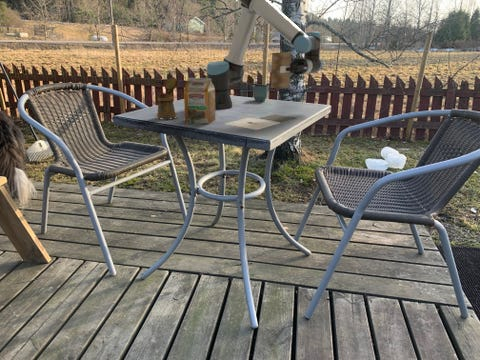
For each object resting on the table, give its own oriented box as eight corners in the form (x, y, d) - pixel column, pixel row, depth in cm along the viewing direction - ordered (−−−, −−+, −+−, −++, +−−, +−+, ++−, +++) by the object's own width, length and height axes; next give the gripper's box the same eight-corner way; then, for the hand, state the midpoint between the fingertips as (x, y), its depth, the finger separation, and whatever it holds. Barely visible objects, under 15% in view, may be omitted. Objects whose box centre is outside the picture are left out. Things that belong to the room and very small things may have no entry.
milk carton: (215, 120, 170) (214, 77, 164) (208, 125, 161) (207, 79, 154) (193, 119, 172) (191, 76, 166) (185, 123, 163) (183, 79, 156)
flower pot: (266, 102, 219) (267, 86, 215) (251, 101, 220) (252, 86, 217) (268, 100, 227) (269, 85, 223) (254, 99, 228) (254, 84, 225)
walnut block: (271, 87, 169) (272, 52, 164) (278, 86, 173) (279, 52, 168) (282, 88, 166) (283, 53, 160) (289, 87, 170) (290, 52, 165)
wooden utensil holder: (183, 115, 181) (182, 76, 175) (170, 120, 169) (168, 79, 163) (167, 114, 184) (165, 76, 177) (153, 119, 172) (150, 79, 165)
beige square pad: (223, 124, 162) (223, 123, 162) (248, 117, 175) (248, 117, 175) (256, 130, 152) (256, 129, 152) (281, 123, 165) (281, 122, 165)
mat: (260, 118, 174) (260, 118, 174) (274, 114, 183) (274, 114, 183) (281, 122, 167) (281, 121, 167) (295, 118, 176) (295, 117, 176)
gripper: (318, 75, 175) (292, 79, 159) (284, 73, 187) (256, 76, 170) (319, 58, 173) (293, 61, 156) (285, 57, 184) (257, 59, 167)
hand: (274, 69), depth 163 cm, fingers closed on walnut block, 6 cm apart
